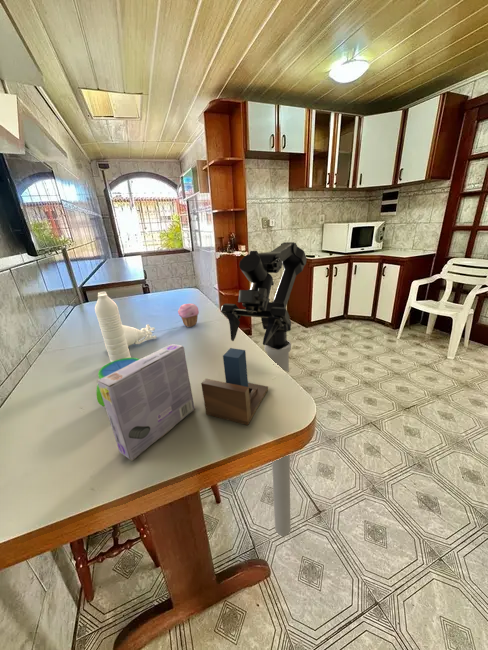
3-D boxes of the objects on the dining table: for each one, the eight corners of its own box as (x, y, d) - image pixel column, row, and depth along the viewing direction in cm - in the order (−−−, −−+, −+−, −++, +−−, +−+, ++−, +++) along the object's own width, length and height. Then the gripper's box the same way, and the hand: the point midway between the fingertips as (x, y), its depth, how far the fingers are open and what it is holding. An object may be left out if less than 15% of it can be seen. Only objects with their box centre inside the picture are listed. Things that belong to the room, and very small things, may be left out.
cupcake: (177, 325, 120) (173, 304, 116) (194, 320, 125) (190, 299, 121) (187, 330, 113) (183, 308, 109) (204, 324, 118) (201, 303, 114)
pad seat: (231, 382, 76) (228, 354, 72) (268, 389, 71) (267, 360, 68) (206, 414, 64) (201, 383, 61) (248, 425, 60) (245, 392, 56)
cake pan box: (185, 400, 70) (173, 339, 63) (199, 406, 67) (188, 343, 60) (117, 452, 55) (93, 381, 49) (132, 463, 53) (108, 389, 46)
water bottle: (110, 361, 93) (89, 291, 83) (130, 356, 95) (112, 288, 86) (112, 372, 85) (89, 298, 76) (133, 366, 88) (114, 293, 79)
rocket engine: (155, 313, 107) (106, 316, 96) (163, 337, 103) (113, 343, 91) (148, 329, 115) (102, 333, 104) (155, 352, 110) (108, 359, 99)
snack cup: (139, 379, 80) (131, 350, 77) (165, 388, 76) (157, 356, 72) (90, 412, 68) (78, 378, 64) (118, 424, 63) (106, 389, 59)
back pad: (235, 391, 70) (230, 347, 65) (249, 394, 68) (245, 350, 63) (228, 401, 67) (222, 355, 62) (242, 404, 65) (238, 358, 60)
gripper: (219, 275, 73) (203, 328, 68) (286, 277, 66) (273, 335, 61) (234, 295, 83) (221, 342, 78) (294, 298, 75) (283, 350, 70)
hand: (247, 342), depth 71 cm, fingers open, 9 cm apart
